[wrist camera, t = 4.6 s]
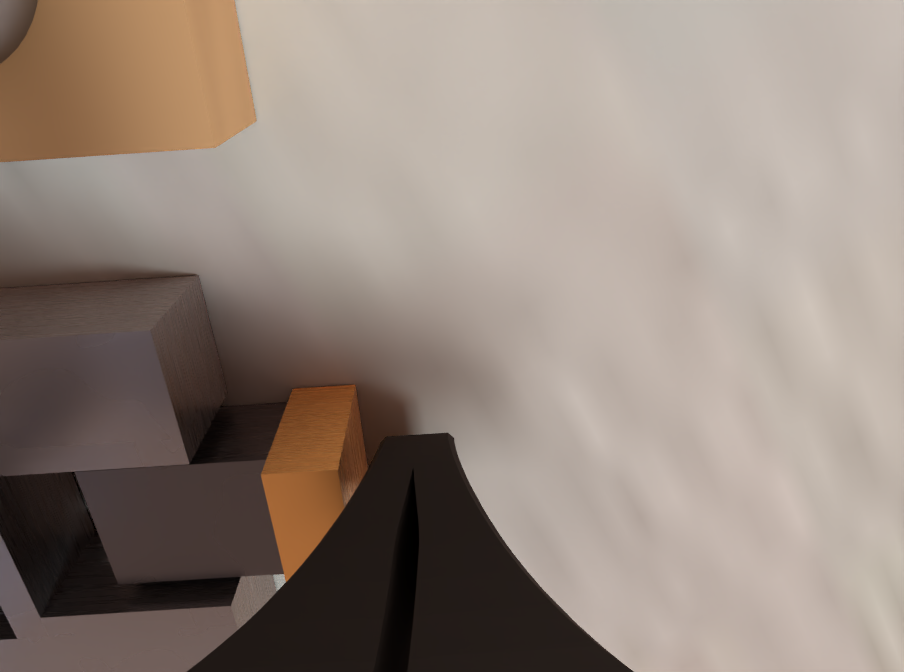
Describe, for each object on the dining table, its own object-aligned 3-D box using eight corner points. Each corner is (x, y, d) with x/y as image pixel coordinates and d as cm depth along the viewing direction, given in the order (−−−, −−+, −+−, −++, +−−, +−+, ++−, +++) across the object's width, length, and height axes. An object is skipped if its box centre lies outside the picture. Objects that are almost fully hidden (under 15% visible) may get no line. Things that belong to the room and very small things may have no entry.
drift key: (158, 528, 14) (104, 631, 12) (114, 399, 13) (42, 488, 10) (374, 514, 14) (362, 615, 12) (355, 384, 13) (337, 470, 10)
